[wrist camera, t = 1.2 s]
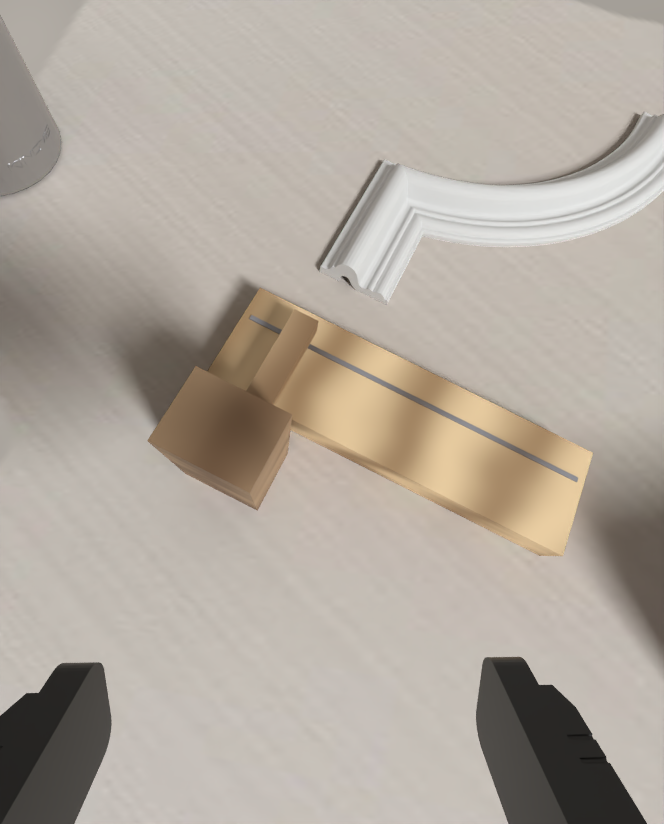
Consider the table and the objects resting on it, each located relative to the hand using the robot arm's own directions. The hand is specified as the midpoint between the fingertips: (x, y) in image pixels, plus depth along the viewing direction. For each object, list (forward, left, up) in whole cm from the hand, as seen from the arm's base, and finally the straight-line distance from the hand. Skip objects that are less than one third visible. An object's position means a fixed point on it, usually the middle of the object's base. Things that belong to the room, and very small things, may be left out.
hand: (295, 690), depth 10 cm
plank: (+2, +13, -18) cm, 22 cm away
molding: (+7, +36, -19) cm, 41 cm away
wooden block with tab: (-6, +9, -18) cm, 22 cm away
